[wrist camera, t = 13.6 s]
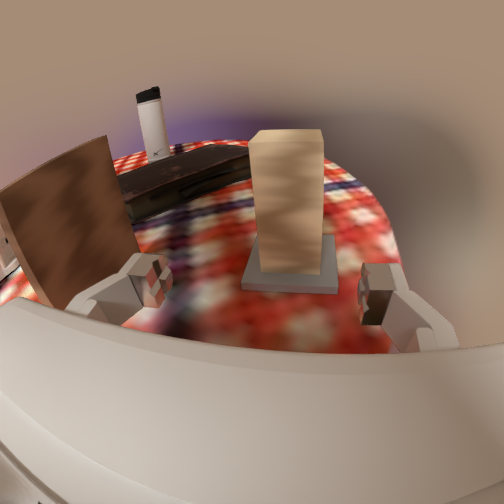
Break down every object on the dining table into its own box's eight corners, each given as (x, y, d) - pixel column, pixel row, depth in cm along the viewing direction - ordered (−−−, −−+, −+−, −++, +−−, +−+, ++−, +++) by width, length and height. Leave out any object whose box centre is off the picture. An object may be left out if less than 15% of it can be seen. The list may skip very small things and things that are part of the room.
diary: (109, 202, 48) (102, 179, 45) (212, 163, 60) (209, 142, 57) (134, 231, 35) (123, 198, 33) (268, 176, 48) (265, 149, 45)
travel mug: (161, 165, 62) (146, 88, 51) (144, 165, 65) (130, 93, 54) (177, 157, 67) (165, 84, 55) (160, 157, 70) (148, 89, 58)
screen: (95, 354, 18) (5, 191, 10) (63, 341, 19) (-16, 199, 11) (155, 263, 28) (118, 131, 20) (123, 261, 28) (84, 141, 21)
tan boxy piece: (261, 272, 24) (248, 142, 17) (269, 239, 28) (260, 130, 21) (319, 274, 22) (323, 141, 16) (319, 241, 27) (320, 129, 20)
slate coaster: (241, 289, 23) (240, 282, 23) (258, 239, 30) (257, 232, 29) (337, 294, 21) (338, 287, 21) (333, 241, 28) (333, 234, 27)
